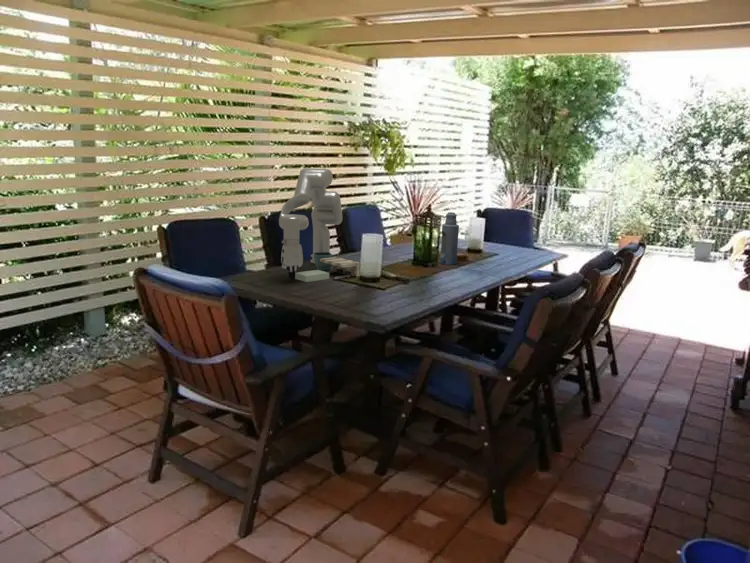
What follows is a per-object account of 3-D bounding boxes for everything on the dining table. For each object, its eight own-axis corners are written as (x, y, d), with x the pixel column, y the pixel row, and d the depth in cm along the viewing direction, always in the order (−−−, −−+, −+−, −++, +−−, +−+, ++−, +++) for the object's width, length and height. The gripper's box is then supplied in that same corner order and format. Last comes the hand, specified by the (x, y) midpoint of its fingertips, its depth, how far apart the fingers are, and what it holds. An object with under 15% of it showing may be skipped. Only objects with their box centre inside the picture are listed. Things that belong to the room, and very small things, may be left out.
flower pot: (316, 271, 313) (316, 255, 311) (313, 268, 322) (313, 252, 320) (332, 271, 316) (332, 254, 314) (328, 268, 324) (329, 252, 322)
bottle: (437, 262, 349) (439, 211, 343) (452, 261, 352) (455, 211, 346) (444, 265, 340) (446, 213, 334) (459, 264, 343) (462, 213, 337)
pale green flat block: (294, 278, 295) (294, 272, 295) (317, 275, 304) (317, 269, 303) (306, 282, 288) (306, 276, 287) (329, 278, 297) (329, 272, 296)
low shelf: (315, 273, 309) (315, 259, 307) (336, 270, 318) (336, 256, 316) (338, 280, 294) (338, 265, 293) (359, 276, 303) (359, 262, 301)
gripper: (282, 244, 277) (282, 282, 280) (308, 242, 286) (308, 278, 290) (274, 242, 282) (274, 279, 286) (300, 240, 292) (300, 276, 296)
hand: (291, 279), depth 288 cm, fingers closed
